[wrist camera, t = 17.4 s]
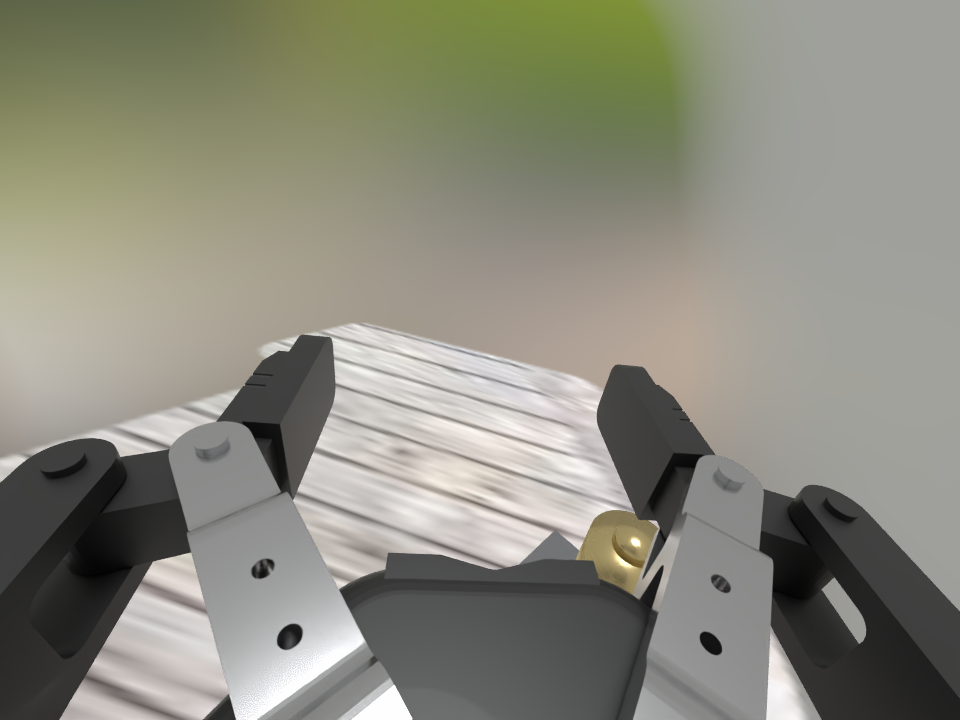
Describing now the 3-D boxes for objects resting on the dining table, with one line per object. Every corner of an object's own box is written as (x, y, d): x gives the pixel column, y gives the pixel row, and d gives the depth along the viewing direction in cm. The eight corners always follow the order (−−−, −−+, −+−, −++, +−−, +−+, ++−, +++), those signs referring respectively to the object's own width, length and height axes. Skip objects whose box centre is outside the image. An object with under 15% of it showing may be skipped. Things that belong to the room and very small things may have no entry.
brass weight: (592, 702, 26) (662, 602, 20) (532, 636, 29) (577, 530, 22) (629, 644, 29) (700, 542, 23) (572, 590, 32) (620, 486, 26)
